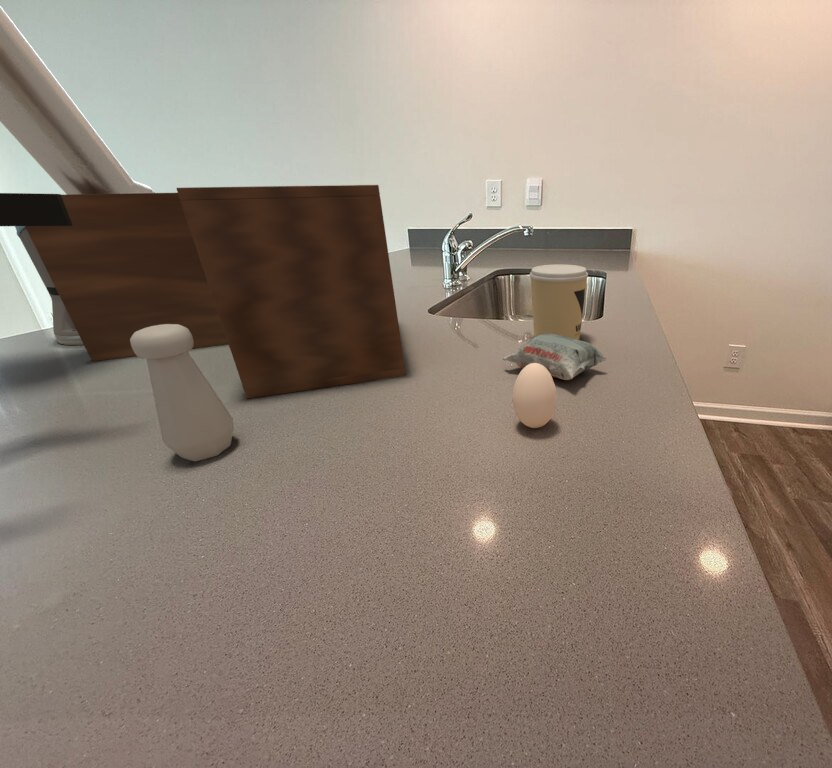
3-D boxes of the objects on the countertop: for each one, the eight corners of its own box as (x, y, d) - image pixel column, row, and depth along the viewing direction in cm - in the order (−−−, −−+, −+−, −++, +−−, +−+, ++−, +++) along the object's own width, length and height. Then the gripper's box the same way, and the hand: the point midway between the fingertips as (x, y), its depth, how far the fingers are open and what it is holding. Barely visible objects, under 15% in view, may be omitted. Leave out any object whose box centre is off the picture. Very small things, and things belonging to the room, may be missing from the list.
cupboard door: (110, 348, 70) (38, 195, 60) (280, 327, 80) (242, 192, 69) (92, 361, 65) (9, 195, 55) (276, 337, 74) (235, 191, 64)
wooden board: (246, 398, 52) (175, 187, 42) (281, 337, 75) (241, 190, 64) (406, 375, 58) (378, 184, 47) (393, 324, 80) (373, 188, 70)
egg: (528, 442, 42) (527, 376, 39) (505, 422, 45) (503, 361, 42) (564, 429, 44) (567, 366, 41) (540, 411, 47) (540, 352, 44)
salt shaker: (233, 428, 45) (191, 314, 40) (247, 448, 42) (203, 326, 36) (168, 449, 42) (112, 328, 36) (177, 474, 38) (116, 342, 32)
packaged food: (572, 394, 51) (573, 357, 49) (502, 371, 58) (501, 338, 56) (605, 373, 57) (608, 339, 55) (538, 354, 64) (539, 324, 62)
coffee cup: (588, 348, 66) (592, 273, 61) (530, 349, 66) (530, 274, 61) (580, 330, 75) (583, 263, 69) (529, 331, 75) (529, 264, 70)
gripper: (-201, 255, 36) (107, 247, 44) (-929, 317, 15) (-88, 281, 23) (-264, 159, 33) (78, 169, 41) (-1280, 68, 12) (-176, 125, 20)
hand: (19, 209), depth 32 cm, fingers open, 13 cm apart
